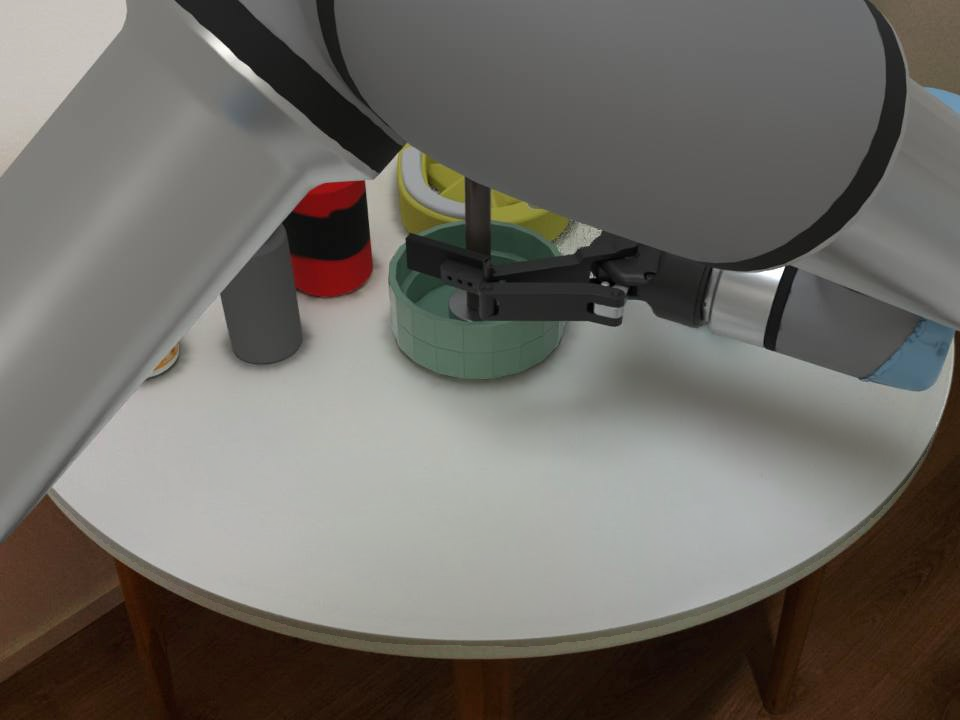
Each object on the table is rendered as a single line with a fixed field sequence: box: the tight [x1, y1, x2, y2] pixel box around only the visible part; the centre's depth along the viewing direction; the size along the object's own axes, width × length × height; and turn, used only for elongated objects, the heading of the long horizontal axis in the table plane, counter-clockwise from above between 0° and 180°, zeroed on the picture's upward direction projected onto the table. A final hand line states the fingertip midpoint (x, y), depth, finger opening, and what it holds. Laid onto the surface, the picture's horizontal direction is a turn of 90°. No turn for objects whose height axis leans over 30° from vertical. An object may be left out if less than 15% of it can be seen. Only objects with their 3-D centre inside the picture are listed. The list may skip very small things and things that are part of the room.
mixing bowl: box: [387, 220, 566, 380], centre depth 86 cm, size 14×14×6 cm
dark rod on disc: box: [448, 176, 499, 321], centre depth 82 cm, size 5×5×18 cm
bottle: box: [219, 223, 303, 365], centre depth 82 cm, size 6×6×15 cm
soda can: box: [282, 180, 374, 298], centre depth 90 cm, size 8×8×12 cm
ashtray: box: [396, 143, 571, 242], centre depth 101 cm, size 16×21×5 cm
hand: (452, 204), depth 81 cm, fingers open, 13 cm apart
